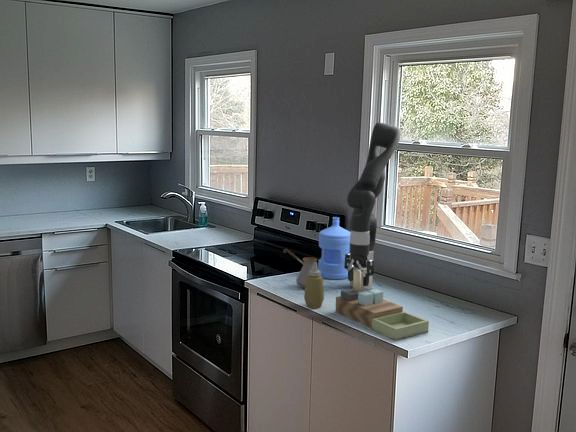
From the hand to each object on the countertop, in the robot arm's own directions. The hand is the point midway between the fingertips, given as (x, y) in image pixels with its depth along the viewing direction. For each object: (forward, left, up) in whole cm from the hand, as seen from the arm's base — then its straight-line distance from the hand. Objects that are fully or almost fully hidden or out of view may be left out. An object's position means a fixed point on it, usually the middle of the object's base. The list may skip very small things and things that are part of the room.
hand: (358, 283), depth 231 cm
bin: (+24, 0, -12) cm, 26 cm away
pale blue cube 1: (+8, -3, -6) cm, 10 cm away
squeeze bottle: (-14, -10, -12) cm, 21 cm away
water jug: (-46, +26, -12) cm, 54 cm away
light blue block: (+8, +2, -6) cm, 10 cm away
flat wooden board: (+7, 0, -12) cm, 13 cm away
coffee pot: (-41, +3, -12) cm, 43 cm away
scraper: (0, 0, -6) cm, 6 cm away
